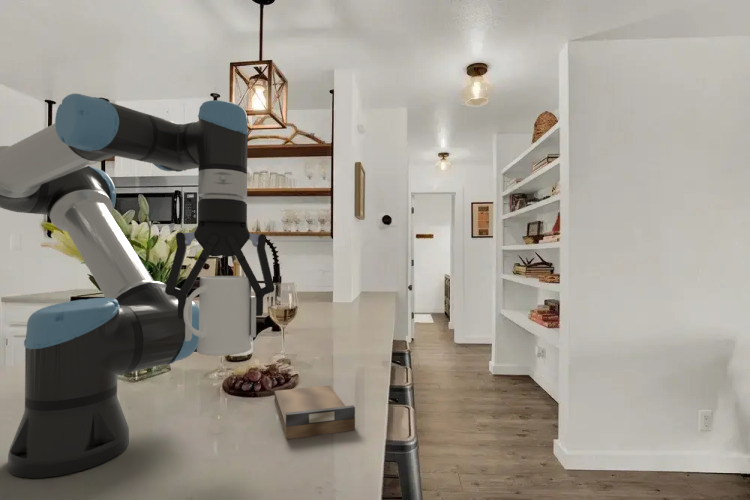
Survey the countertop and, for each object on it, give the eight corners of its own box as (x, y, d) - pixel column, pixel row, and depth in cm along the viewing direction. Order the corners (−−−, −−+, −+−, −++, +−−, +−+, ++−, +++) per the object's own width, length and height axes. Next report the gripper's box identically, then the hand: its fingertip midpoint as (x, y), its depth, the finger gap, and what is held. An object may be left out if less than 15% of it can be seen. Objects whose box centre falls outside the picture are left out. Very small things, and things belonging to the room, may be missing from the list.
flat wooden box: (286, 439, 71) (286, 415, 71) (274, 400, 90) (274, 381, 90) (355, 430, 75) (355, 407, 75) (329, 394, 94) (330, 376, 94)
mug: (196, 362, 61) (198, 280, 62) (166, 354, 66) (168, 277, 67) (262, 349, 71) (263, 277, 71) (231, 342, 76) (232, 275, 76)
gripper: (143, 192, 62) (141, 346, 62) (293, 200, 69) (292, 337, 69) (152, 199, 69) (150, 337, 69) (287, 205, 76) (286, 330, 76)
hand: (221, 337), depth 69 cm, fingers closed on mug, 9 cm apart
